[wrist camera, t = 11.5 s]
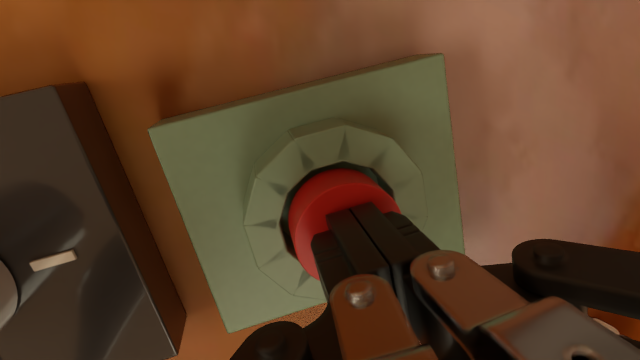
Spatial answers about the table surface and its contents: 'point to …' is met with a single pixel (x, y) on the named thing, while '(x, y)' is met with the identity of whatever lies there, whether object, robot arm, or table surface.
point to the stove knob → (7, 296)
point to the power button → (330, 206)
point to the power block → (306, 174)
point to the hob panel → (77, 239)
